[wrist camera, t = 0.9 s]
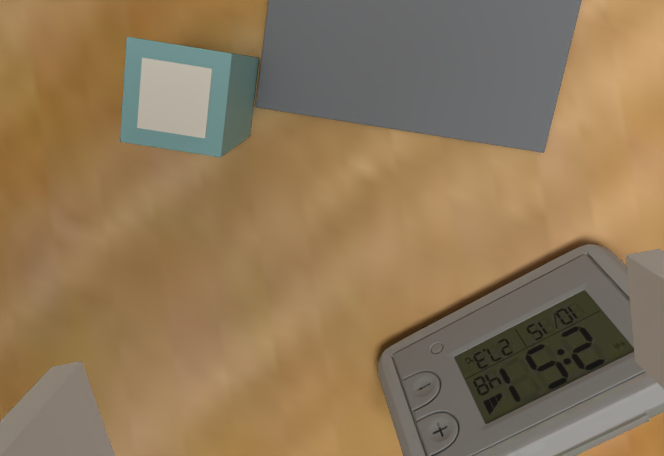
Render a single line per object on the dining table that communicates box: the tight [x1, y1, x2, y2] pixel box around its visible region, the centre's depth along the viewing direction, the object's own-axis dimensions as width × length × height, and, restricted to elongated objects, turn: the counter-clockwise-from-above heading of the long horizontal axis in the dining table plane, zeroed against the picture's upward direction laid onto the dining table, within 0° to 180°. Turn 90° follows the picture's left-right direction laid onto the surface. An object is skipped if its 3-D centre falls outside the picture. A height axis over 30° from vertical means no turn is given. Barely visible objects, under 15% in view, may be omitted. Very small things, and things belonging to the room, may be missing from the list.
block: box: [120, 37, 259, 157], centre depth 30 cm, size 4×4×9 cm
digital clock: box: [377, 244, 664, 456], centre depth 33 cm, size 16×9×11 cm, turn 109°
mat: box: [256, 0, 582, 153], centre depth 33 cm, size 17×13×1 cm
